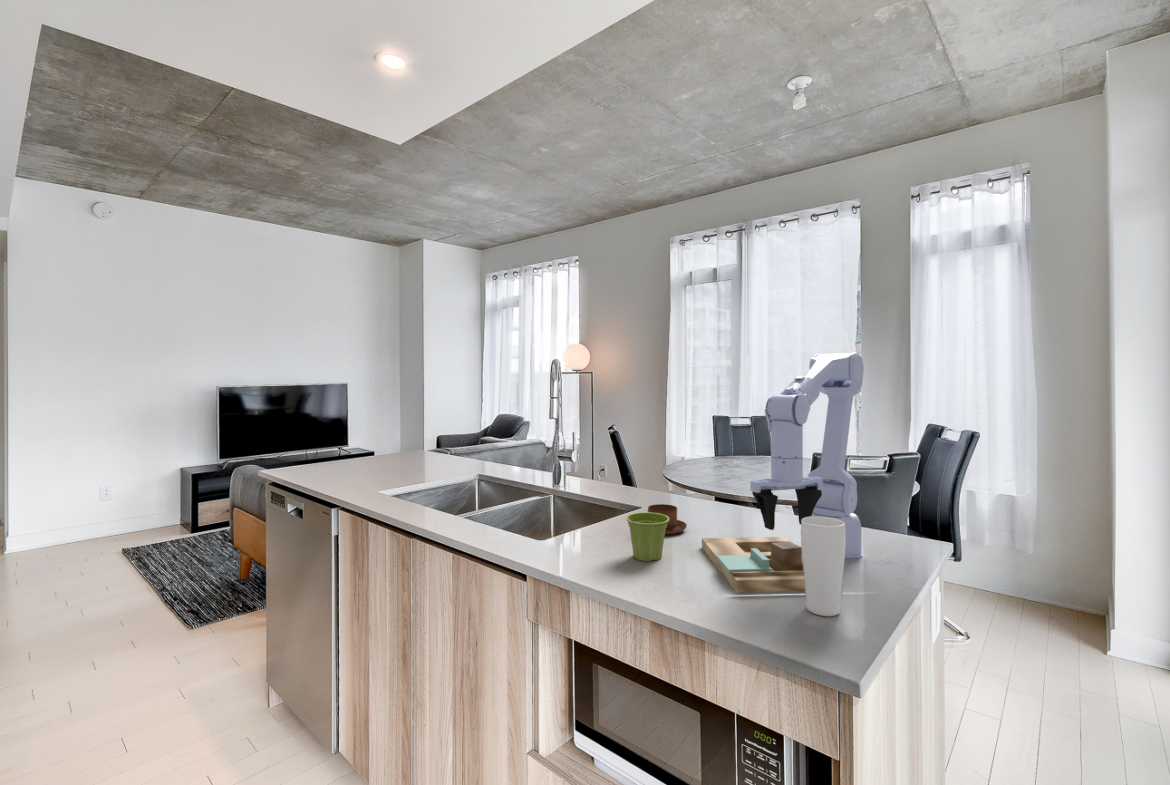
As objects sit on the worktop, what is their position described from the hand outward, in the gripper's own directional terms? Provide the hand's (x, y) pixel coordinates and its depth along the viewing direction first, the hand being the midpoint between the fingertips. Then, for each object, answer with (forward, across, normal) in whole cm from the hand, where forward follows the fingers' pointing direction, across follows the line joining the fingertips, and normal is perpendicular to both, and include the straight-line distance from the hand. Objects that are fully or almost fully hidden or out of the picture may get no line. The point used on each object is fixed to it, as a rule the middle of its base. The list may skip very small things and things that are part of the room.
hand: (786, 526), depth 106 cm
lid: (+7, +8, -2) cm, 11 cm away
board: (+10, +1, -6) cm, 12 cm away
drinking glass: (+10, +3, +15) cm, 18 cm away
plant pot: (+10, +21, -19) cm, 30 cm away
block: (+10, 0, 0) cm, 10 cm away
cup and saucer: (+10, +10, -37) cm, 40 cm away
